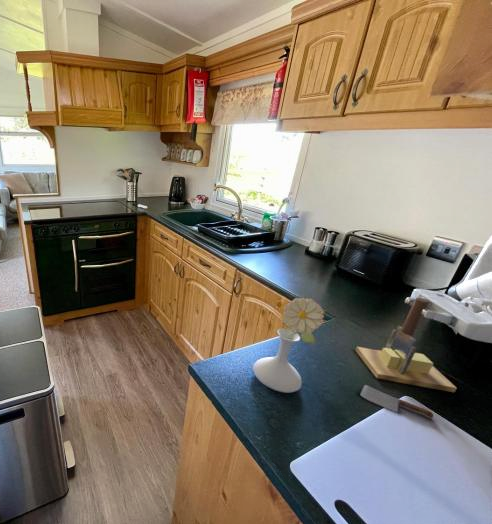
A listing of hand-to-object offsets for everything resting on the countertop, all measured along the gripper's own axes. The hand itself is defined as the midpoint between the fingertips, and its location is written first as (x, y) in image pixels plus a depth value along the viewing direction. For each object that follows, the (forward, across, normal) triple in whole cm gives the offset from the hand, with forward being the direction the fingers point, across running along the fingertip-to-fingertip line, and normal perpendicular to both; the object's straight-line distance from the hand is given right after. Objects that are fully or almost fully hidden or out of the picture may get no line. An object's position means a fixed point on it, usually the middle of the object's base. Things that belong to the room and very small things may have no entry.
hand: (415, 306), depth 74 cm
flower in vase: (+33, +15, +20) cm, 41 cm away
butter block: (-5, 0, +18) cm, 19 cm away
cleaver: (+6, +16, +20) cm, 26 cm away
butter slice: (0, 0, +18) cm, 18 cm away
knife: (-1, 0, +14) cm, 14 cm away
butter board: (-3, 0, +20) cm, 20 cm away
